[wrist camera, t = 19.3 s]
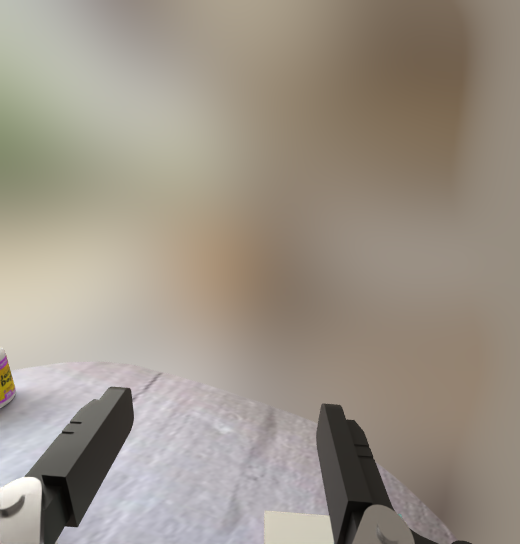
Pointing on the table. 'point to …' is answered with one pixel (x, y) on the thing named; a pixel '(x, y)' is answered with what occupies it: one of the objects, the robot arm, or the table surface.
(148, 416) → the table surface
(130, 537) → the table surface
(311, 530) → the stub base
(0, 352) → the supplement bottle
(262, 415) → the table surface
